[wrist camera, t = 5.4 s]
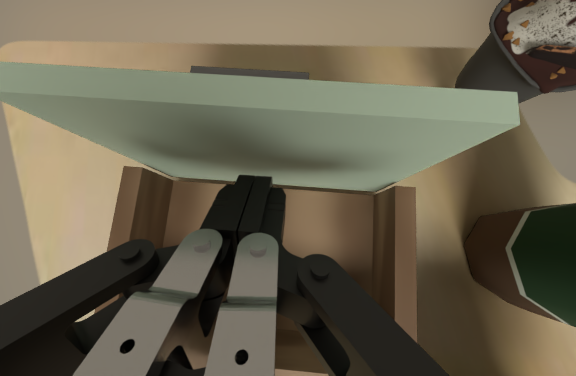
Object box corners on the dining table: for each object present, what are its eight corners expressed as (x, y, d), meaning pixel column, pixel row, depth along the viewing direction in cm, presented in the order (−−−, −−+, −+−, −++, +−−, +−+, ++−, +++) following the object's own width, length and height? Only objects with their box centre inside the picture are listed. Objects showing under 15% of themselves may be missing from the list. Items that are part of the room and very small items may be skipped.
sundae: (452, 74, 23) (723, -190, 9) (493, 133, 22) (881, -56, 8) (393, 103, 23) (570, -123, 8) (431, 164, 22) (713, 30, 7)
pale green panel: (375, 170, 19) (514, 67, 7) (374, 192, 19) (520, 124, 7) (177, 156, 20) (-6, 38, 8) (173, 177, 20) (-23, 90, 7)
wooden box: (376, 201, 22) (424, 184, 14) (374, 339, 20) (428, 411, 12) (176, 186, 22) (111, 161, 14) (155, 318, 20) (67, 374, 12)
